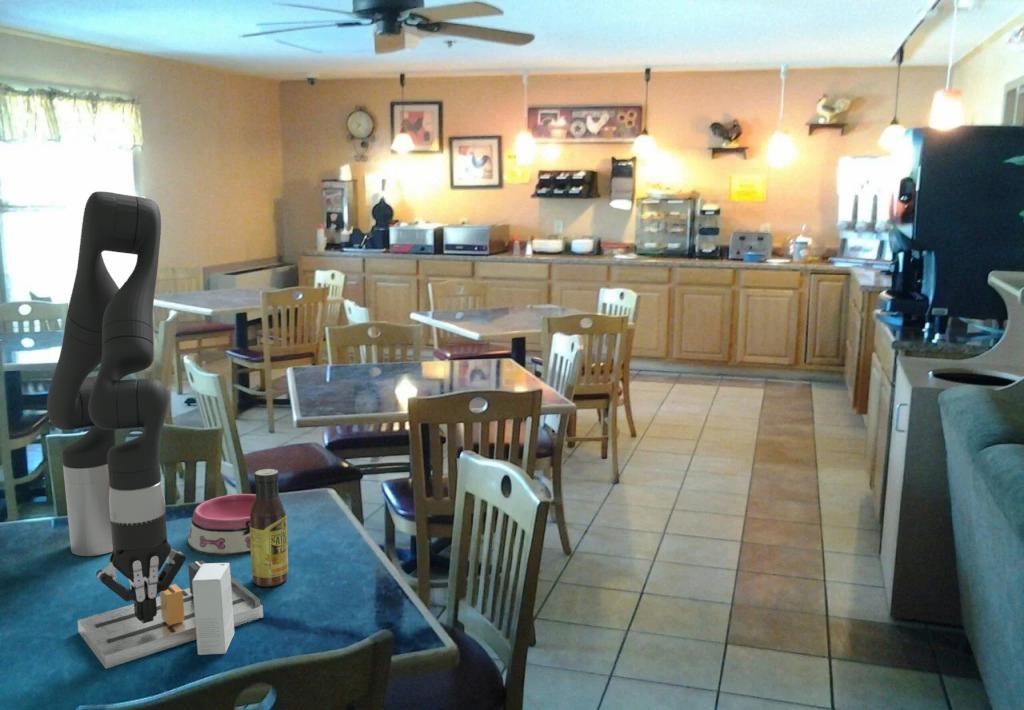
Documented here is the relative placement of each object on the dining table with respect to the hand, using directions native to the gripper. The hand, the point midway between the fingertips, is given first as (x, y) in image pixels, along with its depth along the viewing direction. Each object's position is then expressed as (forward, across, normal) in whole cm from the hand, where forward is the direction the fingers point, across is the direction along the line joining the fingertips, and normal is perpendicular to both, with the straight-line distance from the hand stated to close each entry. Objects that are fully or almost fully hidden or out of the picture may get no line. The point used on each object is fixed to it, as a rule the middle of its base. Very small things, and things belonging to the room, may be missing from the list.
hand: (146, 620), depth 133 cm
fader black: (+1, -11, -6) cm, 12 cm away
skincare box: (+4, -8, +8) cm, 11 cm away
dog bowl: (+4, -27, -31) cm, 41 cm away
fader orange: (+1, -4, 0) cm, 4 cm away
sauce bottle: (+4, -24, -8) cm, 25 cm away
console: (+4, -5, -3) cm, 7 cm away
